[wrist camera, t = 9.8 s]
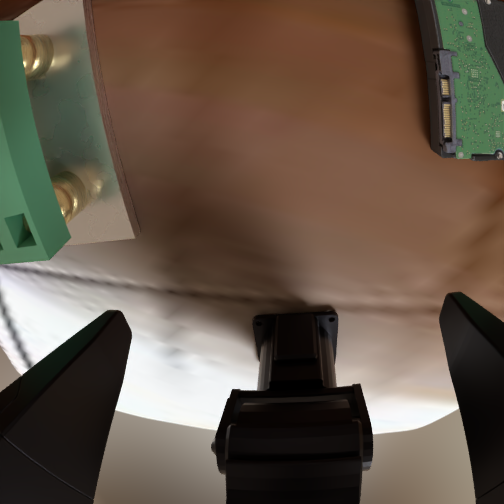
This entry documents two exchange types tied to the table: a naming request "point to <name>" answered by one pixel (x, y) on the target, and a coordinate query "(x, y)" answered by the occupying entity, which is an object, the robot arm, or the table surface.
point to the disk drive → (464, 76)
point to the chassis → (75, 121)
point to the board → (23, 167)
